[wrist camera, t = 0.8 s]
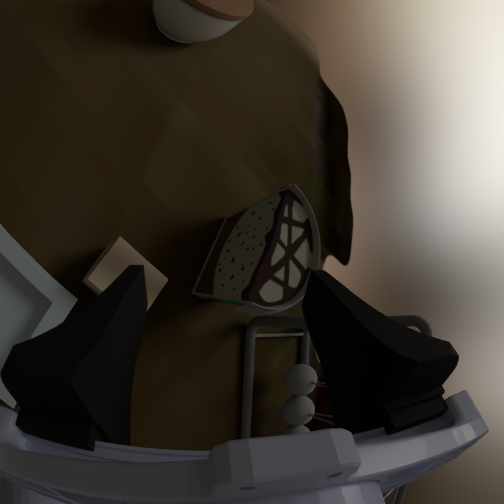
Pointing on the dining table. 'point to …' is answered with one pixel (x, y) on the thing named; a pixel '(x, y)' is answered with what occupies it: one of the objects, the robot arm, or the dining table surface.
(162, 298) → the dining table surface
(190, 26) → the lidded bowl
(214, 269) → the food container
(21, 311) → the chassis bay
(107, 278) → the beige cardboard-like cube
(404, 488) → the newton's cradle
